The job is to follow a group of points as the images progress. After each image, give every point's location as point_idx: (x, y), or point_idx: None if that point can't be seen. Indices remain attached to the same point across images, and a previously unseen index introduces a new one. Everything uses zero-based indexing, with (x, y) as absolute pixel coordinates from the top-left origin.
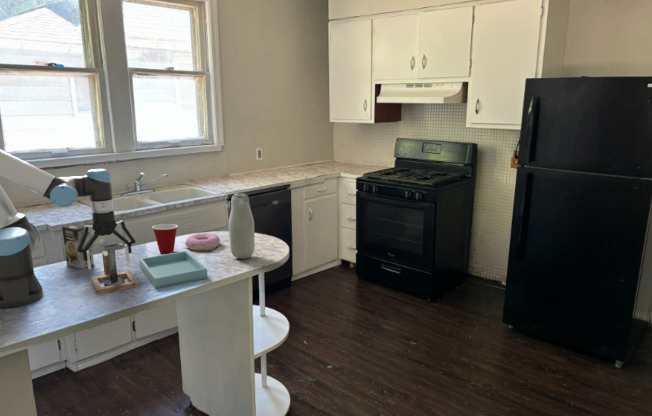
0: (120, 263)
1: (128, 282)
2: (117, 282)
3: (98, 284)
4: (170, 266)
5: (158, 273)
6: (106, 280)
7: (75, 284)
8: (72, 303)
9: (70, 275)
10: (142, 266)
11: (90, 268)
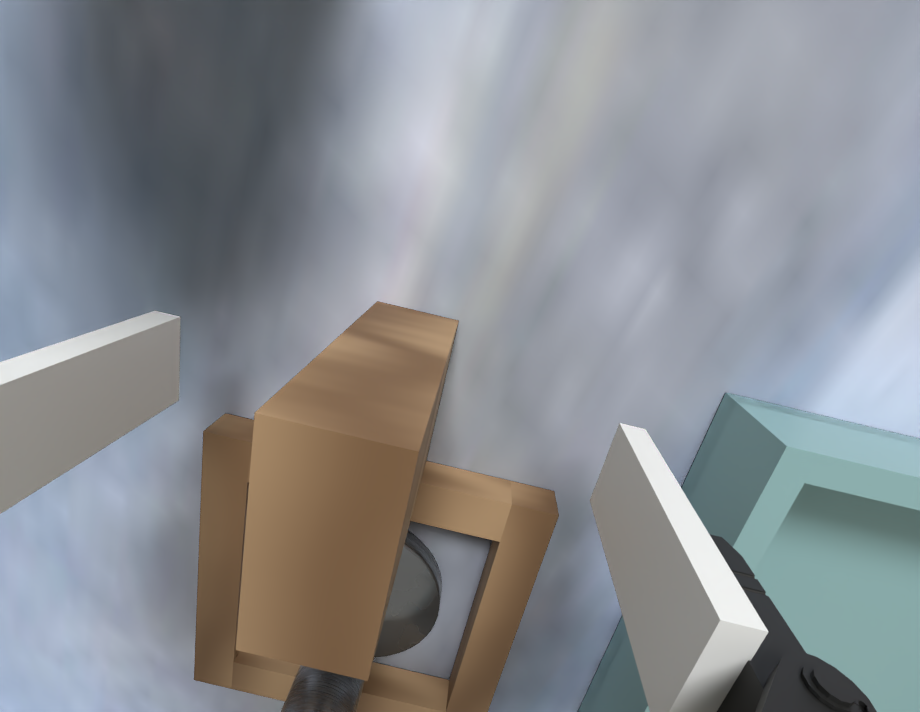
0: (672, 63)
1: (421, 709)
2: None
3: (227, 605)
4: (909, 618)
5: None
6: None
7: None
8: (63, 665)
9: (65, 74)
10: None
11: (165, 402)
